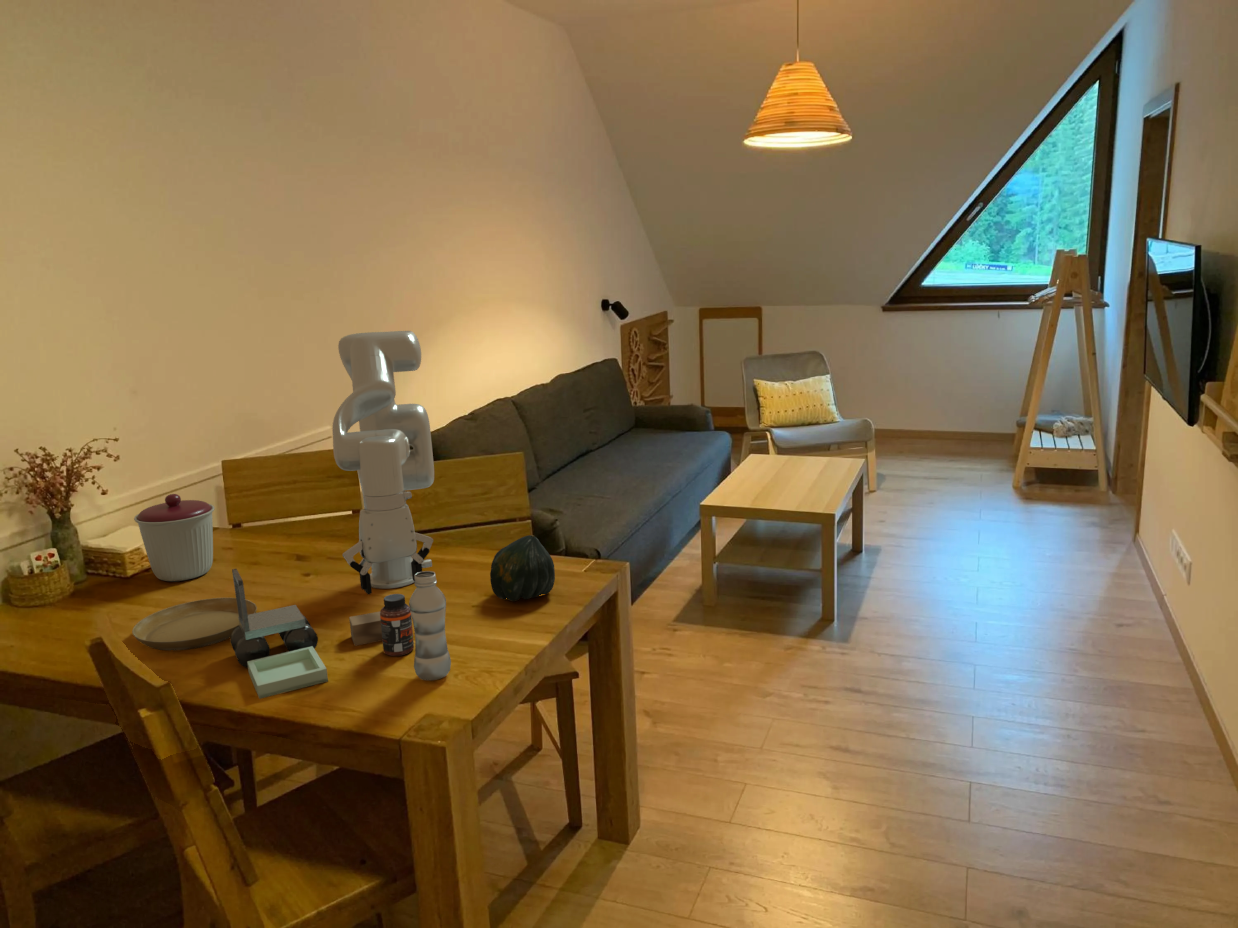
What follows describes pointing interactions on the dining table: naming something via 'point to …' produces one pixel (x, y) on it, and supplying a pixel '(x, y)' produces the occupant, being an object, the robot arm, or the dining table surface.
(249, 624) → the trolley
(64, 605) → the dining table surface
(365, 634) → the block
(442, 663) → the plastic bottle
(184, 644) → the plant saucer
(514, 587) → the squash
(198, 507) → the canister
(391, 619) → the supplement bottle
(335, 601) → the dining table surface
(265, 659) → the tray
